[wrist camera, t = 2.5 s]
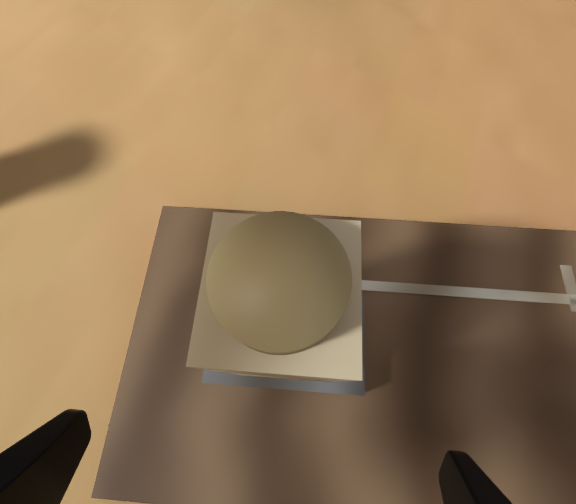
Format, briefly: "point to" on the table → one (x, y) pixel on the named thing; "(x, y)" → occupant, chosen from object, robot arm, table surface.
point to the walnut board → (378, 379)
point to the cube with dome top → (281, 304)
